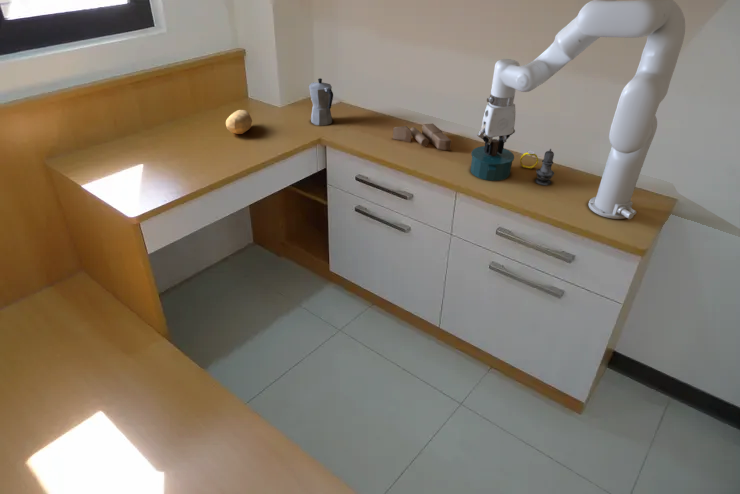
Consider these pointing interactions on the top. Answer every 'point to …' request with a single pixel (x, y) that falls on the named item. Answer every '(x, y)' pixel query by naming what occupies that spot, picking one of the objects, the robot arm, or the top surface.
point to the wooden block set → (423, 136)
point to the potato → (239, 122)
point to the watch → (530, 155)
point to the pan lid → (493, 155)
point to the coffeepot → (321, 103)
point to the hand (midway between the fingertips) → (493, 152)
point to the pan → (490, 170)
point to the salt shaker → (545, 169)
